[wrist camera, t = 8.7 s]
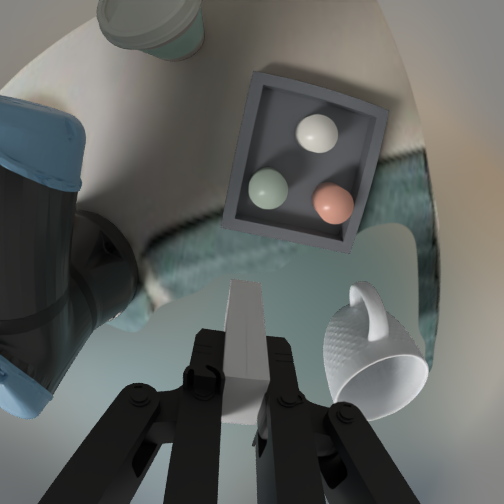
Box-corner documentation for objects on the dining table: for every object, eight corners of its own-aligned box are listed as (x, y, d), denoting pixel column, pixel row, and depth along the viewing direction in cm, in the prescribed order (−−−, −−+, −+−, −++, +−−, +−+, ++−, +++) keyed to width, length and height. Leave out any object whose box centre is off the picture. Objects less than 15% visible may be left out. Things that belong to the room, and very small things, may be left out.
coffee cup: (187, -5, 22) (158, -58, 11) (233, 40, 25) (222, -9, 14) (128, 41, 24) (74, 8, 13) (169, 88, 27) (124, 65, 16)
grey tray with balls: (223, 219, 32) (220, 227, 30) (253, 76, 27) (253, 70, 24) (342, 244, 33) (349, 254, 31) (377, 112, 28) (389, 110, 25)
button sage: (245, 197, 30) (245, 204, 27) (253, 163, 29) (253, 167, 26) (280, 205, 30) (283, 212, 27) (288, 171, 29) (292, 175, 26)
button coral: (307, 211, 30) (313, 219, 28) (316, 178, 29) (323, 183, 26) (339, 218, 31) (347, 227, 28) (348, 186, 29) (358, 192, 26)
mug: (305, 271, 35) (329, 340, 23) (389, 252, 34) (442, 307, 22) (317, 359, 40) (335, 431, 28) (387, 341, 39) (420, 405, 27)
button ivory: (291, 146, 28) (295, 147, 25) (298, 112, 27) (304, 109, 24) (324, 155, 28) (333, 157, 25) (332, 122, 27) (341, 120, 24)
